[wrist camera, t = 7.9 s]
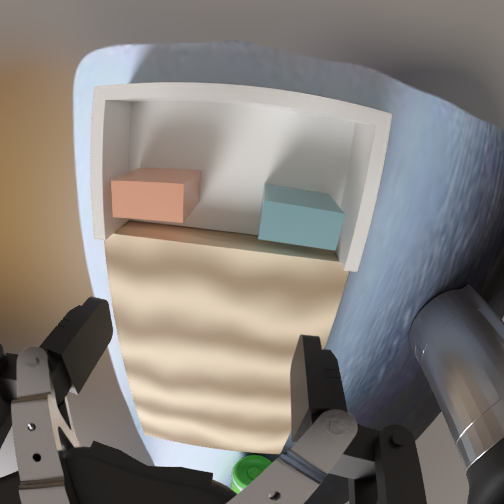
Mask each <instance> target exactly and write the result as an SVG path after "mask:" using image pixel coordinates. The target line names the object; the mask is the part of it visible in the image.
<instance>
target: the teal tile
mask: <svg viewBox="0 0 504 504" xmlns="http://www.w3.org/2000/svg"><path fill="white" fill-rule="evenodd" d="M344 216H345V213H344V212H343V211H342V210H341V208H340V207H339V206H338V205H337V203H336V202H335V201H334V200H333V198H332V197H331V196H330V195H329V194H325V193H320V192H314V191H308V190H303V189H297V188H291V187H285V186H279V185H272V184H266V183H265V184H264V190H263V197H262V203H261V210H260V218H259V233H258V239H261V240H268V241H274V242H281V243H288V244H295V245H301V246H308V247H314V248H321V249H327V250H334V251H336V247H337V243H338V240H339V236H340V232H341V228H342V224H343V220H344Z"/></svg>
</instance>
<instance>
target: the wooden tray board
mask: <svg viewBox="0 0 504 504" xmlns="http://www.w3.org/2000/svg"><path fill="white" fill-rule="evenodd" d="M104 244H105V254H106V263H107V272H108V279H109V287H110V294H111V300H112V306H113V312H114V318H115V323H116V328H117V333H118V338H119V343H120V348H121V352H122V357H123V361H124V365H125V369H126V373H127V377H128V381H129V385H130V389H131V392H132V396H133V399H134V403H135V406H136V410H137V413H138V416H139V419H140V422H141V425H142V428H143V431H144V434H145V435H148V436H152V437H156V438H161V439H165V440H170V441H175V442H180V443H185V444H190V445H196V446H202V447H209V448H216V449H223V450H231V451H241V452H252V453H266V454H280V453H281V451H282V449H283V447H284V445H285V443H286V441H287V438H288V436H289V434H290V432H291V390H290V369H291V363H292V359H293V356H294V353H295V349H296V346H297V343H298V340H299V337H300V335H301V334H302V335H311V336H319V337H320V341H321V347H322V349H324V348H325V345H326V342H327V340H328V337H329V334H330V331H331V328H332V325H333V322H334V319H335V316H336V313H337V310H338V307H339V304H340V301H341V298H342V294H343V291H344V288H345V284H346V281H347V278H348V274H349V271H344V269H343V267H342V265H341V263H340V261H339V259H338V257H337V255H336V253H335V251H334V250H327V249H321V248H314V247H308V246H301V245H295V244H288V243H281V242H274V241H268V240H261V239H258V235H252V234H244V233H236V232H228V231H220V230H211V229H203V228H194V227H186V226H177V225H168V224H159V223H150V222H141V221H132V220H129V221H128V222H126V223H125V224H124V225H123V226H122V227H120V228H119V229H118V230H117V231H116V232H115V233H113V234H112V235H111V236H110V237H109V238H108V239H106V240H104Z"/></svg>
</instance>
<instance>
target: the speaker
mask: <svg viewBox="0 0 504 504" xmlns="http://www.w3.org/2000/svg"><path fill="white" fill-rule="evenodd" d="M271 464H272V462H271V461H270V460H269V459H267V458H266V457H263V456H260V455H249V456H246V457H244V458H242V459H240V460H239V461H238V462H237V463H236V464H235V466H234V467H233V469H232V474H231V476H232V483H231V489H232V490H233V491H234V492H236V493H237V494H238V493H240V492H241V491H242V490H243V489H244V488H245V487H247V486H248V485H249V484H250V483H251V482H252V481H253V480H254V479H256V478H257V477H258V476H259V475H260V474H261V473H262V472H263V471H264V470H265V469H266V468H267V467H268V466H270V465H271Z"/></svg>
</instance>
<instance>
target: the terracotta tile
mask: <svg viewBox="0 0 504 504" xmlns="http://www.w3.org/2000/svg"><path fill="white" fill-rule="evenodd" d="M200 180H201V170H188V169H168V168H138V169H136V170H134V171H131V172H129V173H127V174H124V175H122V176H120V177H118V178H116V179H114V180H111V191H112V211H113V217H118V218H130V219H142V220H154V221H166V222H177V223H183V222H184V221H185V220H186V218H187V217H188V216H189V215H190V213H191V212H192V211H193V209H194V208H195V207H196V206H197V204H198V203H199V202H200Z"/></svg>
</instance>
